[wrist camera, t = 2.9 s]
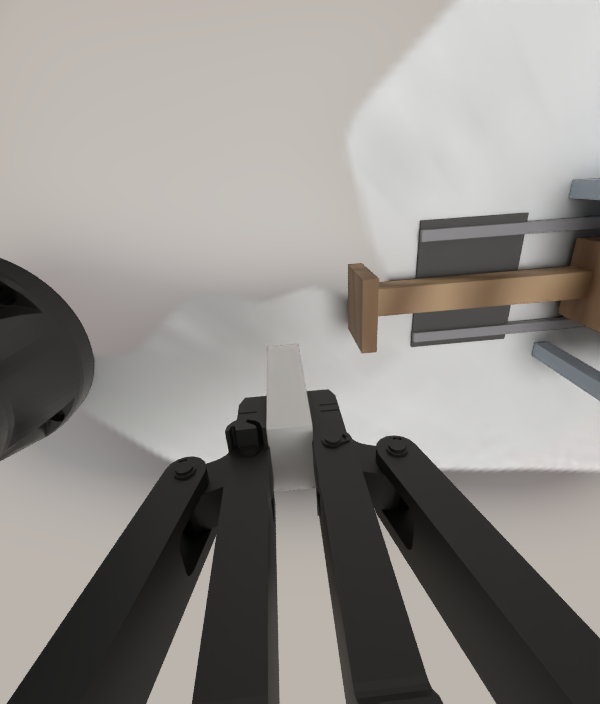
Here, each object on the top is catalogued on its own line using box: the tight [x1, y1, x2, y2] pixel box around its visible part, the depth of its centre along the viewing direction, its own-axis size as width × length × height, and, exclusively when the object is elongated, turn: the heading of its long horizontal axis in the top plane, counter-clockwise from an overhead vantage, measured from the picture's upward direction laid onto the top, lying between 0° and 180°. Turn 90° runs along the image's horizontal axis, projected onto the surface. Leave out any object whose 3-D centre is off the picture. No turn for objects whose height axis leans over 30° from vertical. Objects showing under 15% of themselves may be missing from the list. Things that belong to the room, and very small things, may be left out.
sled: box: [348, 236, 600, 353], centre depth 26 cm, size 24×6×6 cm, turn 94°
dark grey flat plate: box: [411, 213, 529, 347], centre depth 29 cm, size 8×10×1 cm
